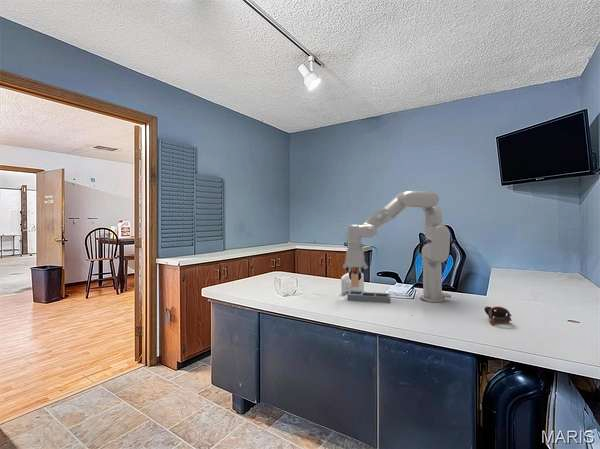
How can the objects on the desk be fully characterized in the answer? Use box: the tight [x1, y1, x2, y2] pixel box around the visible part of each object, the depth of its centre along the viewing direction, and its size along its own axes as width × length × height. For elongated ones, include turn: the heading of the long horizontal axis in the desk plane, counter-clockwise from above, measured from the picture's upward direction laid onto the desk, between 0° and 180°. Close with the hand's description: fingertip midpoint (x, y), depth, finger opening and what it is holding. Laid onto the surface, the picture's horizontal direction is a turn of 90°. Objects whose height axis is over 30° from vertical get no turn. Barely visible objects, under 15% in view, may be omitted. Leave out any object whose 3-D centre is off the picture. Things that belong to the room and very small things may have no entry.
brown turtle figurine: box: [484, 306, 512, 326], centre depth 138 cm, size 12×10×8 cm
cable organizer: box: [340, 272, 365, 295], centre depth 193 cm, size 15×11×12 cm
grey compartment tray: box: [346, 290, 391, 304], centre depth 173 cm, size 22×8×5 cm, turn 73°
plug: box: [351, 270, 359, 287], centre depth 174 cm, size 4×4×8 cm
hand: (355, 279), depth 174 cm, fingers closed on plug, 4 cm apart
